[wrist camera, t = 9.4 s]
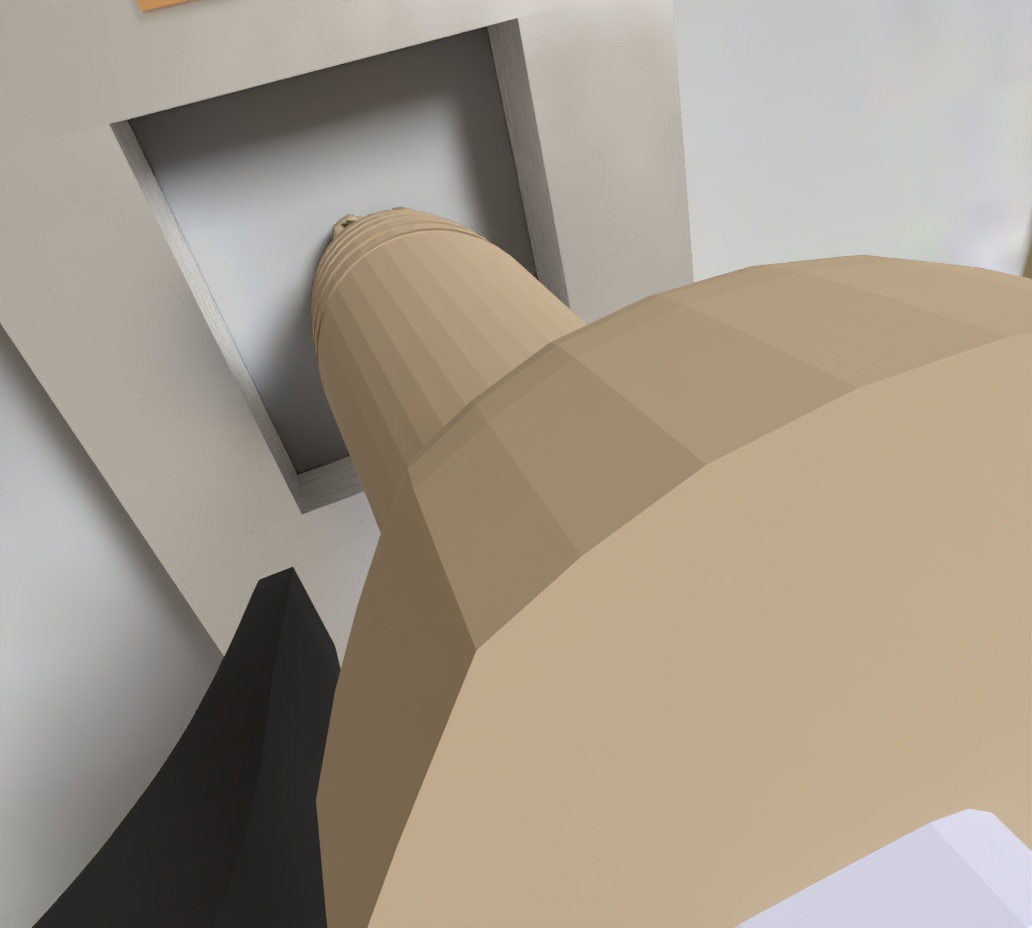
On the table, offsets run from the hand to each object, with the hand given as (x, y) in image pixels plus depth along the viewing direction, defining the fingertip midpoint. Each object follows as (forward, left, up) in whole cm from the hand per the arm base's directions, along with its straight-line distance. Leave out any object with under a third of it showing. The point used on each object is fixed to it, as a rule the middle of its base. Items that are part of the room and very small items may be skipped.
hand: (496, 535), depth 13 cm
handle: (+4, 0, -7) cm, 7 cm away
